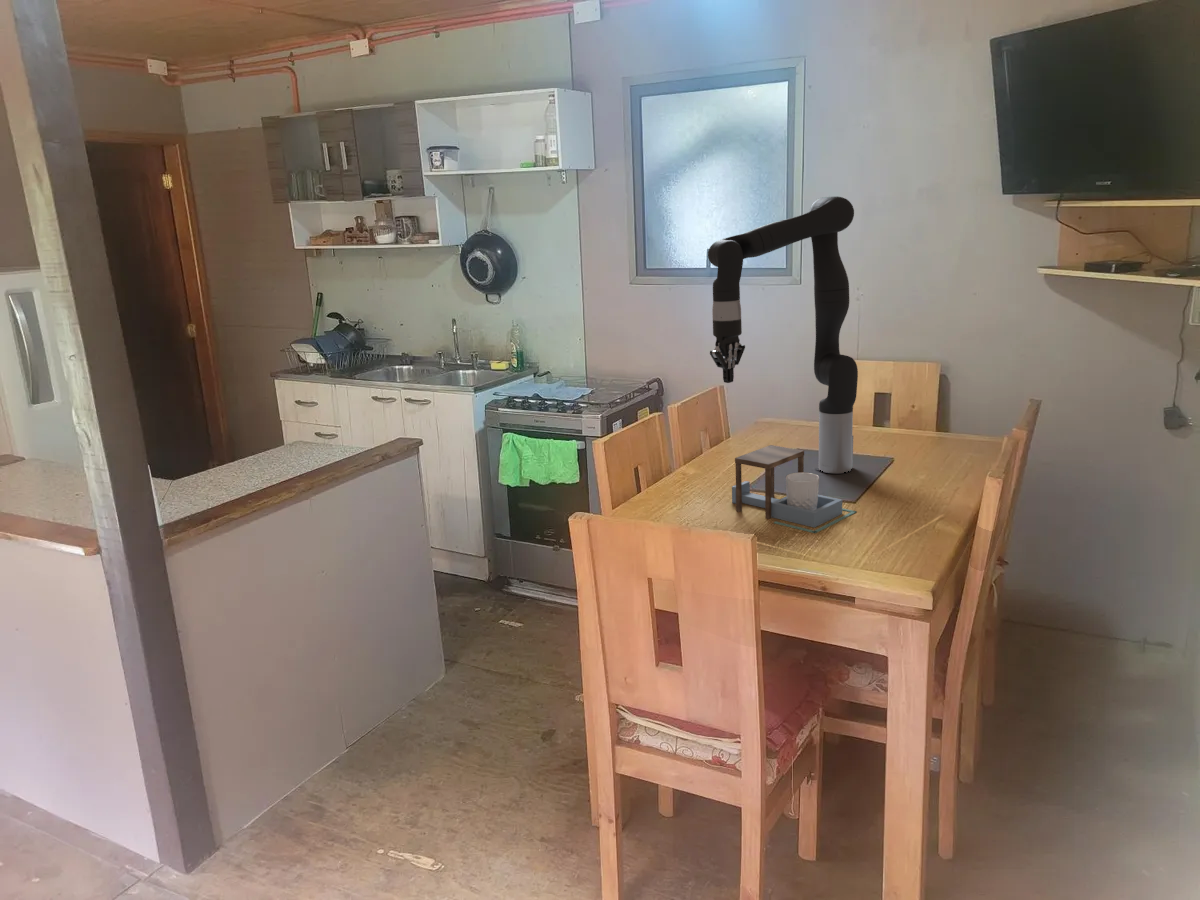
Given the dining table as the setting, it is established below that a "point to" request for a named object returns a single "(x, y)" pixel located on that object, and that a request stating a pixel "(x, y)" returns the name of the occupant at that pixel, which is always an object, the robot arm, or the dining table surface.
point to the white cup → (802, 490)
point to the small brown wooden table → (766, 469)
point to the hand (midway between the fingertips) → (728, 382)
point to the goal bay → (822, 526)
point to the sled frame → (793, 507)
